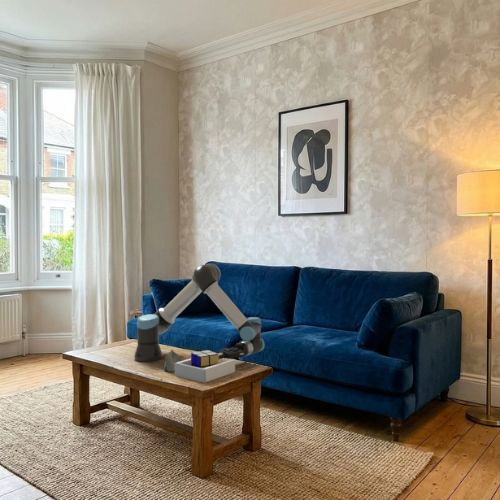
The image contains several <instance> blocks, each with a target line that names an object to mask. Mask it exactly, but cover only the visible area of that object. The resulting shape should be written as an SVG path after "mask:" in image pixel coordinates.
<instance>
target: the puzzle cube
mask: <svg viewBox="0 0 500 500" xmlns="http://www.w3.org/2000/svg"><path fill="white" fill-rule="evenodd" d="M190 359H191V366H194V367H198V368H202V369H203V368H207V367H210V366H213V365H216V364H219V360H218V352H217V353H216V352H215V351H214V352H213V351H211V350H210V349H209V350H208V349H207V350H206V349H205V350H201V351H194V352H191V353H190Z"/></svg>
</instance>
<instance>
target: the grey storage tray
mask: <svg viewBox="0 0 500 500" xmlns="http://www.w3.org/2000/svg"><path fill="white" fill-rule="evenodd" d="M235 372H236V359H234V358H231V359H229V360H227V361H224V362H223V361H222V362H218V364H216V365H213V366H210V367H207V368H203V369H202V368H198V367H194V366H191V358H187V359H184V360H180V362H177V363H175V371H174V376H176V377H180V378H184V379H188V380H190V381H191V380H192V381H196V382H199V383H207V382H211V381H213V380H217V379H219V378H222V377H224V376H228V375H231V374H233V373H235Z"/></svg>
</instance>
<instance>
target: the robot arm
mask: <svg viewBox="0 0 500 500" xmlns="http://www.w3.org/2000/svg"><path fill="white" fill-rule="evenodd" d="M192 273H193V275H192V276H191V281H190V282H188V283H187V285H186V286H184V287H183V289H181V291H179V292H178V293H177V295H176V296H174V297H173V299H172V300H170V301H169V302H168V304H166V306H165V307H160V308H158V310H156V311H155V313H153V314H142V315H140V316H139V317H138V318H137V322H136V331H137V345H136V349H135V352H134V355H133V357H134V358H133V359H134V360H135V361H136V362H142V363H143V362H144V363H148V362H157V361H159V360H161V359H163V351H162V349H161V346H160V335H162V334H165V333H166V332H168V331H169V330H170V328H171V327H172V325H173V324H175V322H176V321H175V319H176V318H177V317H178V316H179V315H181V313H182V312H183V311H184V310H185V309H186V308H187V307H188V306H189V305H190V304H191V303H192V302H193V301H194V300H195V299H196V298H198V296H199V295H200V294H201V293H203V294H206V295H207V296H208V297H209V298H210V299H211V300H212V302H213V303H214V304H215V305H216V306H217V308H218V309H219V311H220V312H222V314H223V315H224V316H225V317H226V319H227V320H228V322H230V323H231V324H232V325H233V326H234V327H235V329H236V331H238V332H239V336H240V339H242V341H240V342H237V343H236V344H234V346H233V347H230V348H227V347H224V348H223V349H221V350H219V351H217V354H218V361H219V360H222V359H229V360H230V359H234V358H243V357H248V356H249V355H252V354H257V353H260V352H262V351H263V350H264V349H265V345H266V344H265V341H264V339H263V338H262V337H261V335H262V333H261V332H262V331H261V330H262V329H261V328H262V320H261V318H260V317H258V316H257V317H256V316H251V317H248V318H246V316H245V315H244V314H243V313H242V312H241V310H240V309H239V308H238V307H237V305H235V303H234V302H233V301H232V299H230V297H229V296H228V295H227V293H226V292H225V291H223V289H222V288H221V287H220V286H219V284H218V283H219V281H220V279H221V276H222V274H221V270H220V268H219V267H218V266H217V265H216V264H214V263H205V264H201V265H199V266H197V267H196V268H195V269H194V270H193V272H192Z"/></svg>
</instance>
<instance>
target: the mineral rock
mask: <svg viewBox="0 0 500 500" xmlns="http://www.w3.org/2000/svg"><path fill="white" fill-rule="evenodd" d="M180 361H181V358H180V355H179V354H178V353H176V352H175V351H174V350H173V349H171V350H170V351H168V352H167V353H166V354H165V361H164V362H163V368H164V369H163V370H164V372H168V373H170V372H175V363H177V362H180Z"/></svg>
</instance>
